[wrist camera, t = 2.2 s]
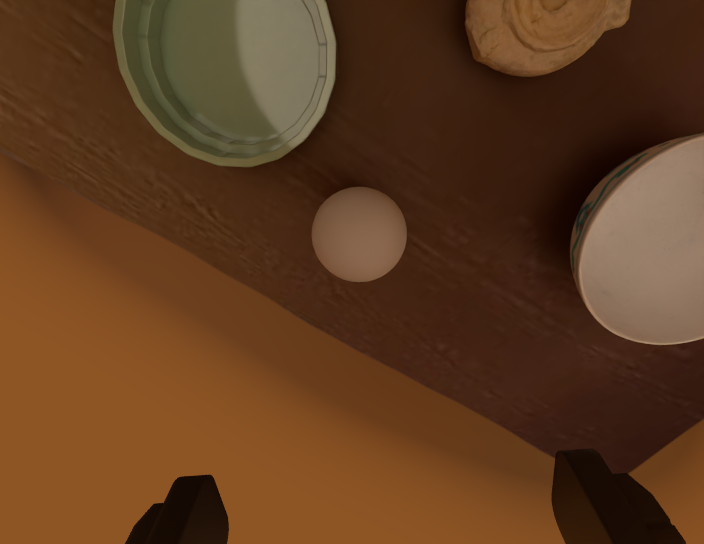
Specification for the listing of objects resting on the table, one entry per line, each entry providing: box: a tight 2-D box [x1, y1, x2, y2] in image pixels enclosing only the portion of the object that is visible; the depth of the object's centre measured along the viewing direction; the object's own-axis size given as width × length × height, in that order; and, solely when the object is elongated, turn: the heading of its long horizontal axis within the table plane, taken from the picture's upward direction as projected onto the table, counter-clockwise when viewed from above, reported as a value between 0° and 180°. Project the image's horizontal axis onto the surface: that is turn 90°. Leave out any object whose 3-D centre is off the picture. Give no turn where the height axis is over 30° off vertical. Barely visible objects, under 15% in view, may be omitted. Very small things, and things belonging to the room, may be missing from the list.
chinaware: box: [570, 133, 704, 345], centre depth 31 cm, size 15×15×8 cm
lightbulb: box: [312, 187, 407, 282], centre depth 29 cm, size 6×6×11 cm
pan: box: [112, 0, 339, 167], centre depth 28 cm, size 14×14×4 cm
